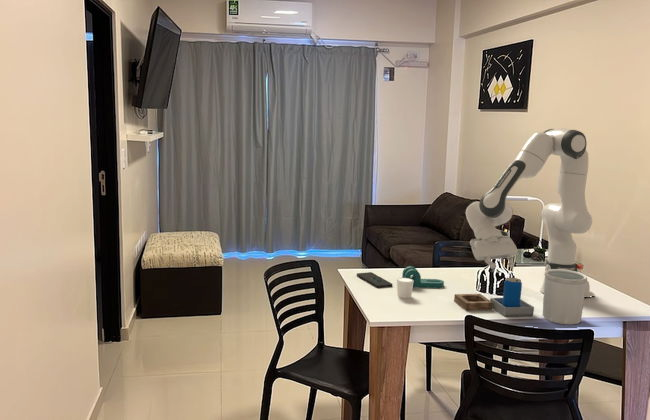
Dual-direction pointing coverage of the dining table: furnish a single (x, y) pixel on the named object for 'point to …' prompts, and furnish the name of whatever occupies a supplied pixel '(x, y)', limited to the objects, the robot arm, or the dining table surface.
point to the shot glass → (404, 287)
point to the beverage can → (512, 292)
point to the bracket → (421, 282)
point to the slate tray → (512, 308)
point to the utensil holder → (563, 296)
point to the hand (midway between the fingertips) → (503, 267)
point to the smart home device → (374, 280)
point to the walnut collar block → (473, 302)
